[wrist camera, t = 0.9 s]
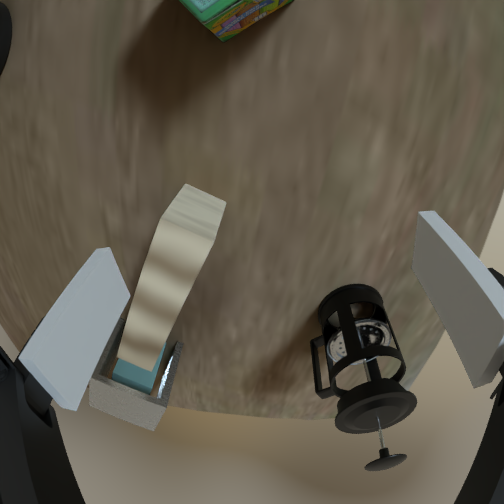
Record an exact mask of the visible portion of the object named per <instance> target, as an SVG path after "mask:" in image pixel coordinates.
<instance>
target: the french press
mask: <svg viewBox="0 0 504 504" xmlns="http://www.w3.org/2000/svg"><path fill="white" fill-rule="evenodd" d="M360 302H366V303H372V304H374V305H375V309H374V312H373V315H372V316H371V318H360V319H355V320H354V318H353V314H352V311H351V307H350V304H353V303H360ZM336 311H337V313H338V317H339V322H340V327H339V328H337V327H334V326H333V325H331V323H330V322H329V321H328V318H329V317H330V316H331V315H332V314H333V313H334V312H336ZM318 319H319V323H320V325H321V328H322V334H323V335H321V336H319V337H316V338H314V339H312V340H311V341H310V346H311V354H312V364H313V373H314V383H315V392H316V394H317V395H318V396H319V397H320V398H322V399H325V398H328V397H331V396H333V395H336V396H337V397H340V400H339V401H338V404H337V409H338V414H337V416H336V417H335V426H336V427H337V428H338V429H339V430H341V431H343V432H346V433H352V434H361V433H369V432H375V431H378V432H379V437H380V443H381V448H382V449H380V450H379V453H380V458H379V459H377V460H374V461H372V462H370V463H369V464H367V465H366V466H365V470H368V471H380V470H385V469H389V468H391V467H394V466H396V465H398V464H400V463H402V462H403V461H404V460H405V459H406V458H407V455H405V454H395V455H389V451H388V448H385V445H384V439H383V435H382V429H385V428H388V427H390V426H392V425H394V424H396V423H398V422H400V421H402V420H403V419H405V418H406V417H407V416H408V415H410V413H411V412H412V411H413V410H414V408H415V407H416V404H417V399H416V396H415V395H414V394H413V393H411V392H409V391H406V390H405V389H404V388H403V387H402V386H401V385H400V384H399V382H400V381H401V379H402V378H403V376H404V374H405V371H406V366H405V362H404V359H403V356H402V354H401V351H400V348H399V345H398V343H397V340H396V337H395V334H394V332H393V329H392V327H391V324H390V321H389V319H388V316H387V314H386V311H385V309H384V306H383V300H382V297H381V295H380V294H379V292H378V291H377V290H376V289H374V288H373V287H371V286H368V285H365V284H350V285H345V286H342V287H340V288H337V289H336V290H334V291H332V292H331V293H330V294H329V295H327V296H326V297H325V299H324V300H323V301H322V303H321V304H320V307H319V310H318ZM387 323H388V325H389V327H388V326H387V325H386V324H387ZM392 336H393V339H394V342H395V344H396V347H397V349H395V348H393V347H390V346H389V344H390V342H391V338H392ZM323 345H325V352H326V358H327V365H328V372H329V381H330V387H328V388H325V389H322V381H321V373H320V365H319V357H318V347H320V346H323ZM378 356H392V357H395V358H398V359H399V360H400V361H401V365H400V368H399V370H398V371H397V373H396V374H395V375H394V376H393V377H391V378H390V379H388V378H382V377H381V374H380V370H379V366H378V363H377V359H376V357H378ZM332 360H334V361H336V362H337V363H335V365H334V366H333V361H332ZM361 363H363V364H364V368H365V372H366V376H367V381H368V382H366V383H363V384H361V385H358V386H356V387H354V388H353V389H351V390H349V391H347V390H343V389H340V388H338V387H337V386H336V380H335V377H336V375H337V374H338V373H339V372H340V371H341V370H343V369H344V368H345V367H347V366H349V365H355V364H361Z"/></svg>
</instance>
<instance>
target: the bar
mask: <svg viewBox="0 0 504 504" xmlns="http://www.w3.org/2000/svg"><path fill="white" fill-rule="evenodd" d="M226 203H227V202H225V201H222V200H220V199H218V198H216V197H214V196H212V195H210V194H207V193H205V192H203V191H201V190H199V189H197V188H194V187H192V186H190V185H188V184H186V183H185V185H184V186H183V187H182V189H181V190H180V192H179V193H178V194H177V196H176V197H175V198H174V200H173V201H172V203H171V204H170V205H169V207H168V208H167V210H166V211H165V213H164V214H163V215H162V217H161V219H160V221H159V224H158V227H157V229H156V232H155V235H154V238H153V240H152V243H151V246H150V249H149V252H148V255H147V257H146V260H145V263H144V266H143V269H142V272H141V275H140V278H139V282H138V285H137V288H136V291H135V294H134V297H133V301H132V304H131V307H130V311H129V314H128V317H127V321H126V324H125V328H124V331H123V335H122V339H121V342H120V346H119V350H118V354H117V357H118V358H120V359H122V360H124V361H127V362H129V363H131V364H134V365H136V366H138V367H141V368H143V369H145V370H148V371H150V372H152V370H153V368H154V366H155V363H156V361H157V359H158V357H159V355H160V352H161V350H162V348H163V346H164V344H165V342H166V340H167V337H168V335H169V333H170V331H171V329H172V327H173V325H174V323H175V321H176V318H177V316H178V314H179V312H180V310H181V308H182V306H183V304H184V302H185V300H186V298H187V296H188V294H189V292H190V290H191V287H192V285H193V283H194V281H195V279H196V277H197V275H198V273H199V271H200V269H201V267H202V265H203V263H204V261H205V259H206V257H207V255H208V253H209V251H210V249H211V247H212V245H213V243H214V241H215V238H216V234H217V231H218V228H219V225H220V222H221V218H222V215H223V212H224V209H225V206H226Z"/></svg>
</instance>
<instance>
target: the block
mask: <svg viewBox="0 0 504 504" xmlns="http://www.w3.org/2000/svg"><path fill="white" fill-rule="evenodd" d="M165 346H166V343H165V344H164V346H163V348H162V350H161V352H160V355H159V357H158V359H157V361H156V363H155V366H154V368H153V370H152V372H150V371H148V370H145V369H143V368H141V367H138V366H136V365H134V364H131V363H129V362H127V361H124V360H122V359H120V358H119V359H118V361H117V364H116V366H115V368H114V371H113V374H112V380H113V381H115V382H118V383H120V384H122V385H125V386H127V387H130V388H132V389H135V390H137V391H140V392H142V393H145V394H148V395H150V392H151V390H152V387H153V384H154V381H155V377H156V374H157V371H158V368H159V365H160V361H161V358H162V355H163V352H164V349H165Z"/></svg>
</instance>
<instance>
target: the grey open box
mask: <svg viewBox="0 0 504 504" xmlns="http://www.w3.org/2000/svg"><path fill="white" fill-rule="evenodd" d="M123 323H124V319H122V318H120V317H119V319H118V321H117V323H116V325H115V327H114V329H113V331H112V333H111V336H110V338H109V340H108V342H107V344H106V346H105V348H104V350H103V352H102V354H101V356H100V359H99V361H98V363H97V365H96V367H95V369H94V372H93V374H92V376H91V378H90V381H89V406H91V407H94V408H96V409H98V410H100V411H102V412H105V413H107V414H110V415H112V416H114V417H117V418H119V419H122V420H124V421H127V422H130V423H132V424H135V425H137V426H140V427H143V428H146V429H149V430H152V431H154V430H155V428H156V426H157V424H158V423H159V421H160V419H161V417H162V415H163V413H164V412H165V410H166V408H167V404H168V400H169V396H170V392H171V389H172V385H173V381H174V377H175V373H176V369H177V366H178V362H179V358H180V355H181V351H182V347H183V343H181V342H178V341H177V344H176V346H175V348H174V350H173V352H172V355H171V357H170V359H169V361H168V364H167V366H166V368H165V371H164V373H163V376H162V380H161V383H160V387H159V390H158V394H157V397H153V396H150V395H148V394H145V393H142V392H140V391H137V390H135V389H132V388H130V387H127V386H125V385H122V384H120V383H118V382H115V381H113V380H111V379H108V378H107V377H108V374H109V372H110V369H111V367H112V365H113V362H114V360H115V358H116V355H117V352H118V347H119V342H120V337H121V333H122V328H123Z"/></svg>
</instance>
